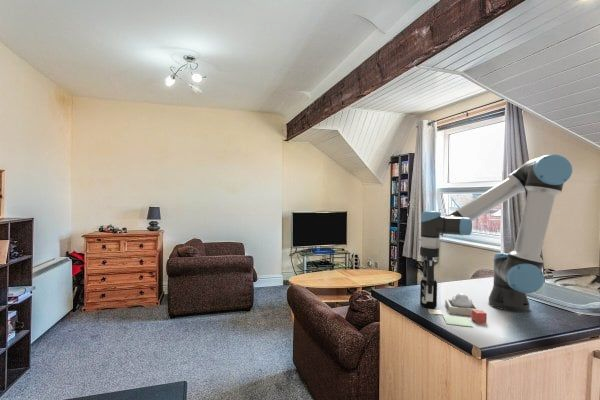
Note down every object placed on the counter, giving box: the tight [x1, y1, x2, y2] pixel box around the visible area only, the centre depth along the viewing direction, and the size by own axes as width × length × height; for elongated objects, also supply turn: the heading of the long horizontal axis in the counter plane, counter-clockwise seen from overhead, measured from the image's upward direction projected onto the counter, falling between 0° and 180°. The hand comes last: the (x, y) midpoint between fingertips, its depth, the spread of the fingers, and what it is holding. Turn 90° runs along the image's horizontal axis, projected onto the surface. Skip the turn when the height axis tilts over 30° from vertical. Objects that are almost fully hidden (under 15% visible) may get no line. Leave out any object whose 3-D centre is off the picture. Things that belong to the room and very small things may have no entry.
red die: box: [471, 309, 488, 324], centre depth 122 cm, size 4×4×4 cm
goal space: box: [442, 314, 474, 328], centre depth 121 cm, size 9×9×1 cm
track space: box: [427, 308, 444, 316], centre depth 131 cm, size 5×5×1 cm
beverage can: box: [419, 276, 438, 310], centre depth 137 cm, size 7×7×12 cm
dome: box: [451, 292, 473, 308], centre depth 134 cm, size 8×8×5 cm
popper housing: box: [444, 298, 480, 317], centre depth 134 cm, size 11×11×2 cm
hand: (427, 296), depth 137 cm, fingers open, 13 cm apart
